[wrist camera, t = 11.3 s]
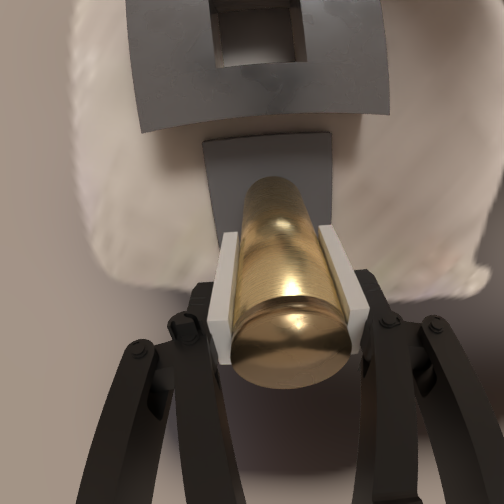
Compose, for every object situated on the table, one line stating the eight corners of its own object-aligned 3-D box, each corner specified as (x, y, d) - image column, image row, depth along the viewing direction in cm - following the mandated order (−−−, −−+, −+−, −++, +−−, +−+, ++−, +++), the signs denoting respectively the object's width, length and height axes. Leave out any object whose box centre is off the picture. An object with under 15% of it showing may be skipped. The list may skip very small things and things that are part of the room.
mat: (203, 141, 21) (201, 142, 21) (329, 131, 21) (331, 133, 20) (221, 247, 27) (220, 252, 26) (328, 239, 26) (330, 244, 25)
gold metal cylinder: (241, 178, 20) (220, 320, 9) (301, 174, 20) (361, 309, 8) (247, 231, 23) (238, 391, 11) (302, 227, 22) (342, 382, 11)
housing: (149, -5, 14) (124, -22, 10) (349, -20, 13) (371, -41, 9) (164, 123, 20) (141, 133, 16) (363, 108, 19) (389, 115, 15)
